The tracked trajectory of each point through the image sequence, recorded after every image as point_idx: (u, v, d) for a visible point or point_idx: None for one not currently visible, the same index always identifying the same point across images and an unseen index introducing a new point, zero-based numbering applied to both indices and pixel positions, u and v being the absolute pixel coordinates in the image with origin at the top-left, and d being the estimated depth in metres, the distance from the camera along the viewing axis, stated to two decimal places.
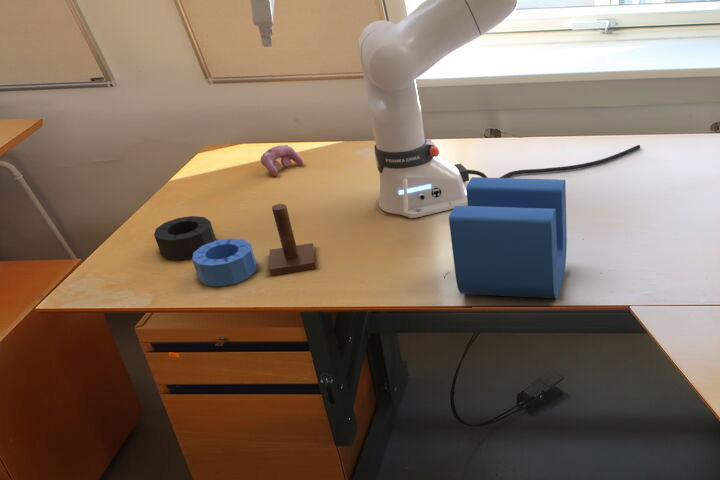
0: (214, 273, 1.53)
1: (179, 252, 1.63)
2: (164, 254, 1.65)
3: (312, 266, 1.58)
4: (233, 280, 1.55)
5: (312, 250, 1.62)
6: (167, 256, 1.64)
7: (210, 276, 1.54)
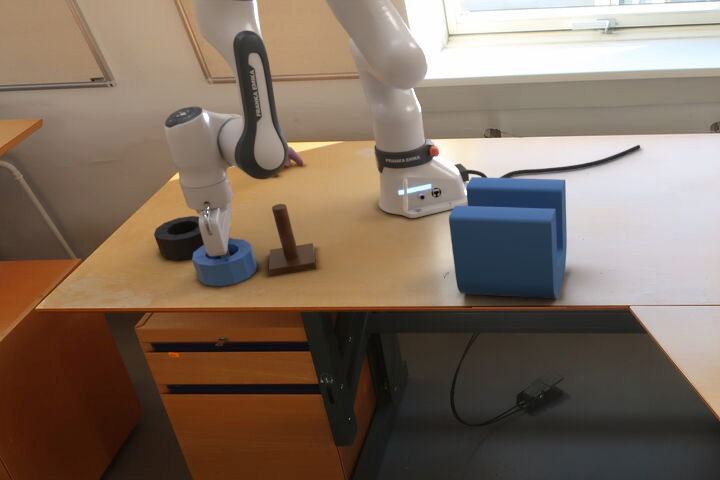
0: (214, 273, 1.53)
1: (179, 252, 1.63)
2: (164, 254, 1.65)
3: (312, 266, 1.58)
4: (233, 280, 1.55)
5: (312, 250, 1.62)
6: (167, 256, 1.64)
7: (210, 276, 1.54)
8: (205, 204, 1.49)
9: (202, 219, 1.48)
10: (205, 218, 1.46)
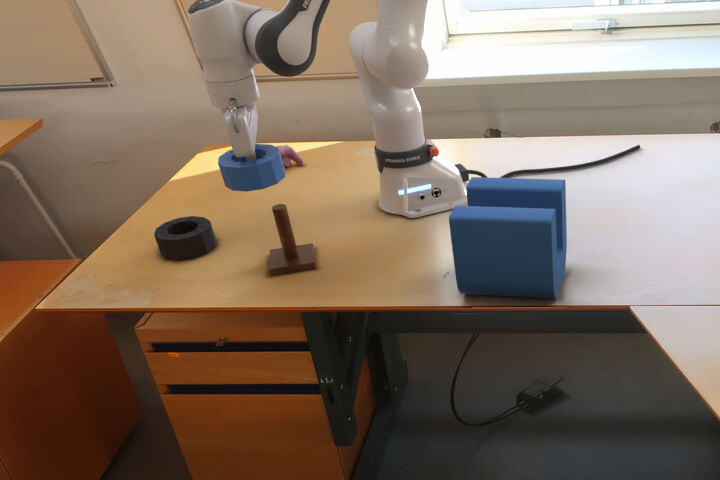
0: (242, 176, 1.44)
1: (179, 252, 1.63)
2: (164, 254, 1.65)
3: (312, 266, 1.58)
4: (262, 184, 1.46)
5: (312, 250, 1.62)
6: (167, 256, 1.64)
7: (237, 180, 1.45)
8: (231, 100, 1.40)
9: (228, 115, 1.39)
10: (232, 113, 1.37)
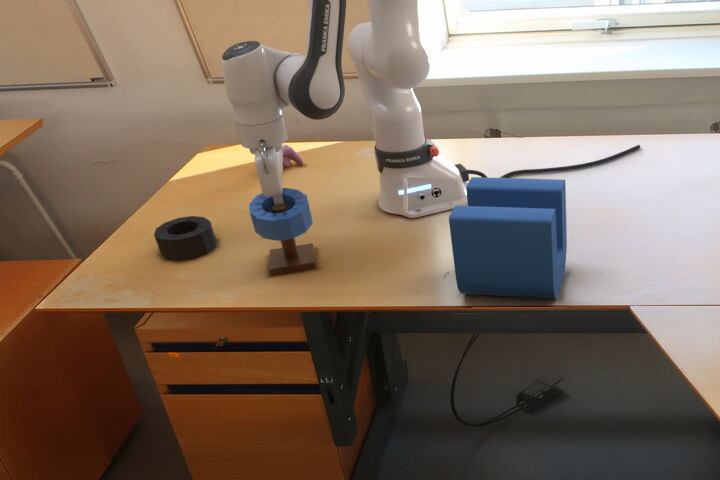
0: (274, 228, 1.51)
1: (179, 252, 1.63)
2: (164, 254, 1.65)
3: (312, 266, 1.58)
4: (292, 235, 1.53)
5: (312, 250, 1.62)
6: (167, 256, 1.64)
7: (269, 231, 1.52)
8: (261, 142, 1.46)
9: (258, 157, 1.44)
10: (262, 155, 1.43)
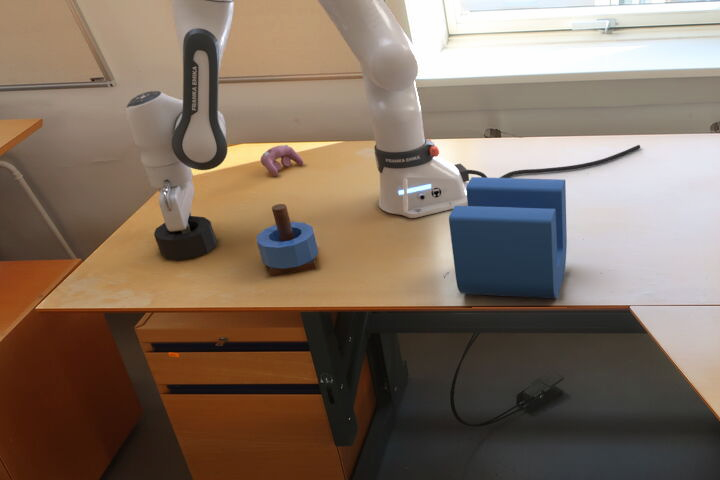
0: (280, 255, 1.55)
1: (179, 252, 1.63)
2: (164, 254, 1.65)
3: (312, 266, 1.58)
4: (298, 262, 1.57)
5: None
6: (167, 256, 1.64)
7: (275, 259, 1.55)
8: (165, 182, 1.59)
9: (162, 196, 1.58)
10: (164, 195, 1.56)
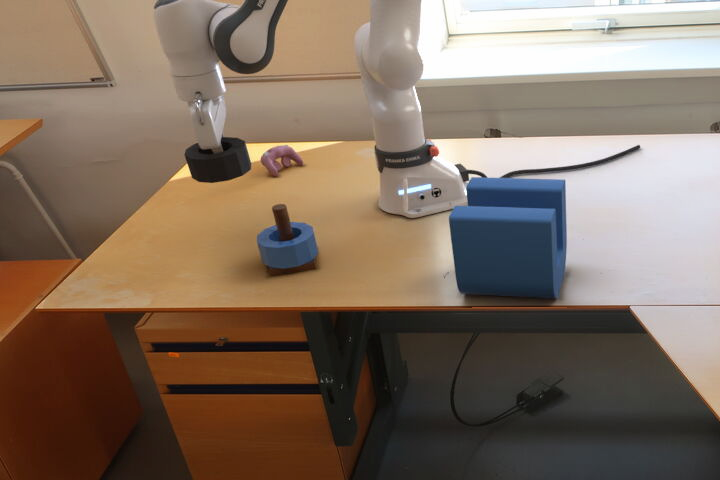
0: (280, 255, 1.55)
1: (212, 173, 1.48)
2: (196, 176, 1.50)
3: (312, 266, 1.58)
4: (298, 262, 1.57)
5: None
6: (199, 178, 1.50)
7: (275, 259, 1.55)
8: (196, 94, 1.44)
9: (193, 108, 1.43)
10: (196, 106, 1.41)
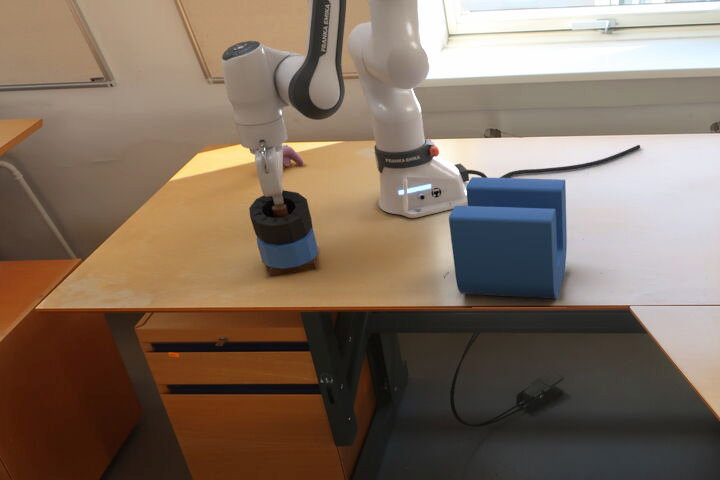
0: (280, 255, 1.55)
1: (279, 237, 1.53)
2: (261, 237, 1.54)
3: (312, 266, 1.58)
4: (298, 262, 1.57)
5: None
6: (265, 240, 1.54)
7: (275, 259, 1.55)
8: (261, 142, 1.46)
9: (258, 157, 1.44)
10: (262, 155, 1.43)
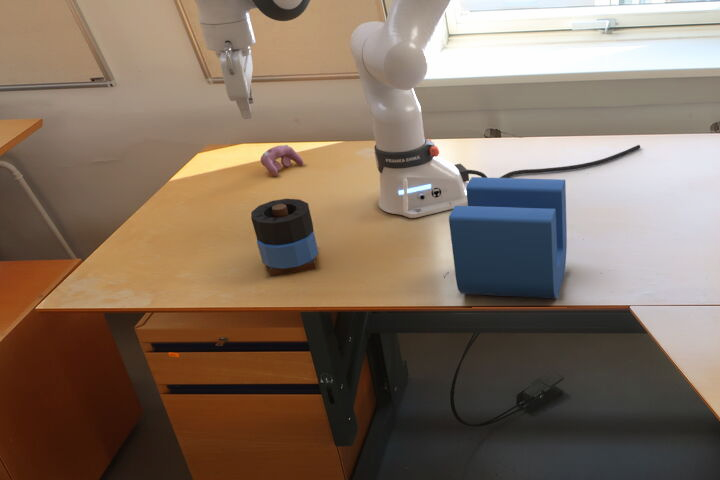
0: (280, 255, 1.55)
1: (278, 236, 1.53)
2: (262, 239, 1.55)
3: (312, 266, 1.58)
4: (298, 262, 1.57)
5: None
6: (265, 241, 1.54)
7: (275, 259, 1.55)
8: (226, 42, 1.39)
9: (223, 57, 1.38)
10: (227, 54, 1.36)
